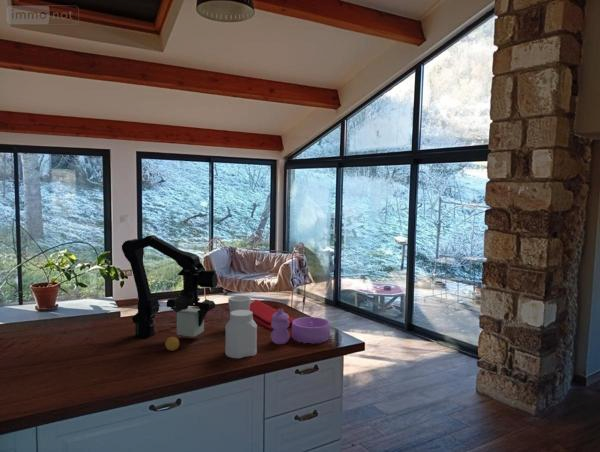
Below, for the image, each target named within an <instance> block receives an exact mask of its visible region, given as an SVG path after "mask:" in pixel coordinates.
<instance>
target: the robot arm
mask: <svg viewBox="0 0 600 452" xmlns="http://www.w3.org/2000/svg"><path fill="white" fill-rule="evenodd" d="M149 247H151V248H152V249H154V250H156V251H157V252H159V253H160V254H163V255H165V256H167V257H168V258H170V259H171V260H173V261H175V263H176V264H177V265H178V266H179V267H180V268H181V269H180V271H179V272H178V273H177V275H178V276H183V277H182V280H183V282H182V284H183V285H182V289H181V290H180V295H178V296H177V297H176V296H174V297H171V298H169V299H167V300H166V307H167V308H170V309H171V310H173V311H174V312H175V313H176V315H177V312H179V311H181V310H186V309H187V308H190V307H192V308H193V307H194V308H195V307H196V308H198V309H200V310H198V311H197V312H198V314H199V326H201V324H202V322H203V320H204V321H205V318H206V315H207V313H208V312H209V311H211V310H213V309H215V308H216V303H215V301H214V300H207V299H205V300H203V301H200V300H201V298H200V297H199V291H200V290H201V289H200V288H210V289H216V288H217V286H218V281H219V277H218V275H217V273H216V270H212V269H211V270H210V269H209V270H207V269H206V268H205V266H204V265H203V264H202V262H201V260H200V257H199V255H198V254H196V253H192V252H190V251H186V250H181V249H179V248H177V247H176V246H174V245H172V244H170V243H168V242H167V241H164V240H163V239H161V238H159V237H158V236H157V235H154V234H151V235H148V236H145V237H141V238H139V239H138V238H133V239H128V240H125V241H123V243H122V245H121V250H122V253H123V255H124V257H125V259H126V260H127V261H128V262H129V264H130V268H131V271H132V275H133V279H134V283H135V287H136V292H137V295H138V301H137V312H136V314H134V316H132V318H131V320H132V322H133V324H135V334H133V335H132V336H133V337H134V338H140V339H141V338H142V339H148V338H150V337H151V336H154V335H156V332H155V324H154V320H153V319H155V318H156V315H157V314H158V313H159V311H160V307H161V305H160V303H159V297H158V296H156V297H155V296H153V294H152V291H151V289H150V284H149V280H148V276H147V273H146V268H145V264H144V261H143V260H144V254H145V249H146V248H149Z"/></svg>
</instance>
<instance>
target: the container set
mask: <svg viewBox="0 0 600 452" xmlns="http://www.w3.org/2000/svg"><path fill="white" fill-rule="evenodd" d="M277 310H278V312H276V313H274V314H273V315H272V319H273V320H272V322H271V326H272V328H274V330H273V331H271V333H270V339H271V341H272V342H273V344H275V345H285V344H287V343H288V341H289V340H290V332H289V330H288V327H289V324H290V323H289V320H288V319H289V316H290V315H289V314H288V313H286V312H285V311H284V309H283V308H278V309H277ZM294 319H295V320H293V321H292V327H291V339H292V338H293V339H294V341H295V340H296V341H295V342H297V341H298V342H297V343H300V342H303V343H302V344H306V343H311V344H310V345H313V344H316V343H317V344H322V342H323V343H326V342H327V340H328V339H329V340H330V338H329V337H330V336H331V335H330V333H331V332H330V331H331V329H330V327H331V323H330V321H329V320H328V319H325V318H323V317H318V316H317V317H316V316H304V317H298V318H294ZM289 328H290V327H289ZM293 339H292V340H293ZM329 340H328V341H329ZM325 341H326V342H325ZM317 344H316V345H317Z"/></svg>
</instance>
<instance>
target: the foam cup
mask: <svg viewBox="0 0 600 452" xmlns="http://www.w3.org/2000/svg"><path fill="white" fill-rule="evenodd" d="M227 299H228V306H229V313H230V312H232V311H235V310H249V308H250V304H251V300H252V299H251V297H250V296H248V295H233V296H229V297H228V298H227Z"/></svg>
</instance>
